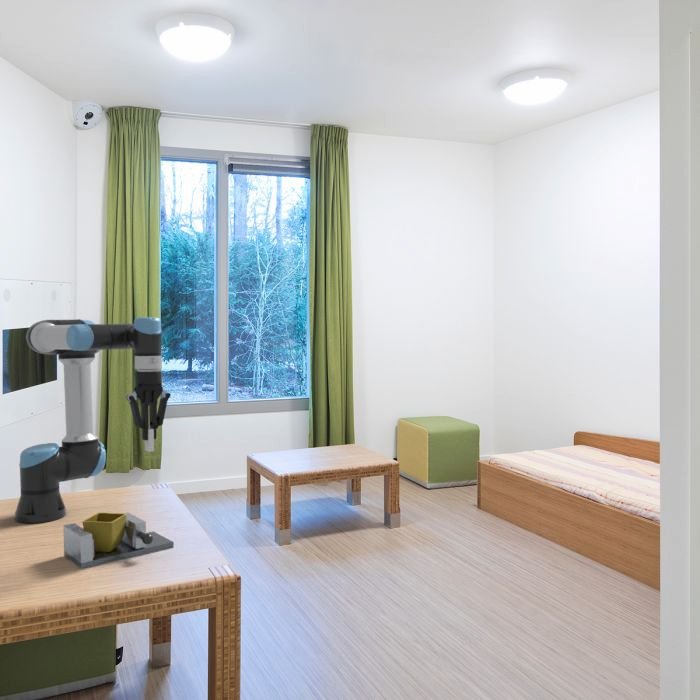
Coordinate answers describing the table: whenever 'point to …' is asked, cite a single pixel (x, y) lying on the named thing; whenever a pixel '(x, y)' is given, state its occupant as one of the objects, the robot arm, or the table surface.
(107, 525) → the flower pot
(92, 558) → the vise base
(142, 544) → the block
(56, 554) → the table surface
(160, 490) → the table surface
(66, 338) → the robot arm
